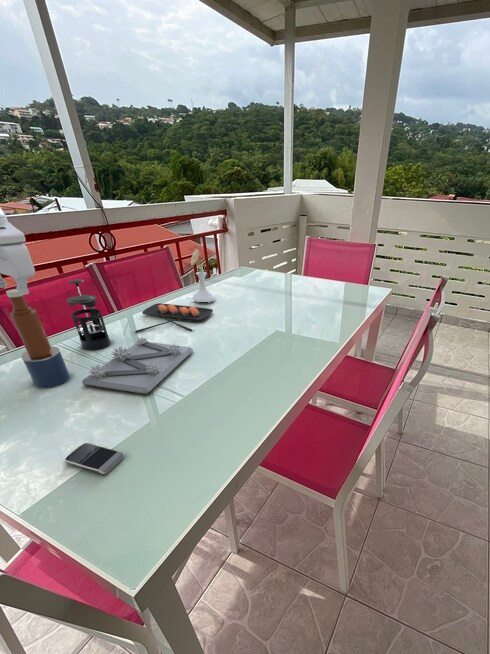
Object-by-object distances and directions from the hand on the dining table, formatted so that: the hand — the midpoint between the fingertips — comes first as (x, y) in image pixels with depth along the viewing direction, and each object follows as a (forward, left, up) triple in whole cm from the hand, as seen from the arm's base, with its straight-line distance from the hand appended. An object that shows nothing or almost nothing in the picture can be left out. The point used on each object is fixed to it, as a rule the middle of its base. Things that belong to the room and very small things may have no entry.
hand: (13, 290), depth 85 cm
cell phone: (+41, -16, -27) cm, 52 cm away
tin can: (0, 0, -27) cm, 27 cm away
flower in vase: (-11, +82, -27) cm, 87 cm away
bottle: (0, 0, -18) cm, 18 cm away
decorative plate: (+17, +19, -27) cm, 37 cm away
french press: (-11, +23, -27) cm, 37 cm away
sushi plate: (-6, +54, -27) cm, 61 cm away
